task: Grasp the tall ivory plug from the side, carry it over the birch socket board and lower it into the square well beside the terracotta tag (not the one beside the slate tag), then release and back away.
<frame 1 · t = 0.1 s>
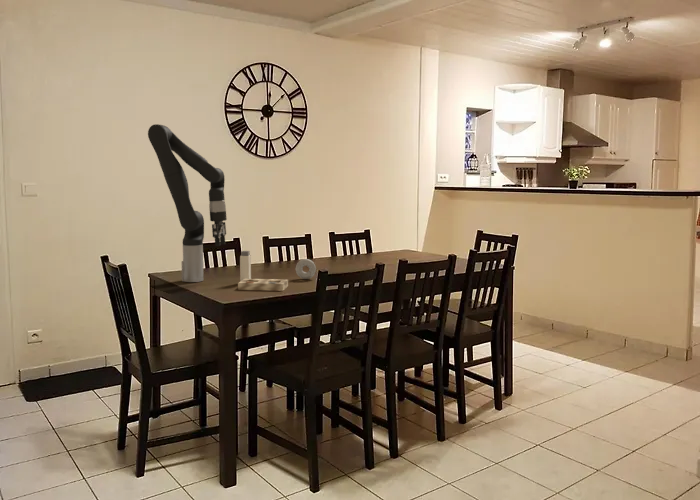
hand: (220, 245, 296), 17 cm above the table, tool pointing down, fingers open, 8 cm apart
donut: (305, 279, 307), on the table
socket board: (263, 287, 282), on the table
plug: (245, 283, 294), on the table
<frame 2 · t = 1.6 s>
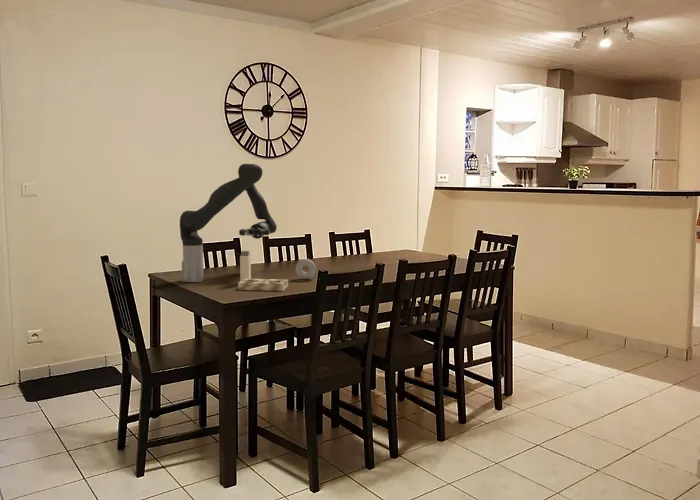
hand: (251, 233, 302), 22 cm above the table, tool horizontal, fingers open, 8 cm apart
nothing on the table moved.
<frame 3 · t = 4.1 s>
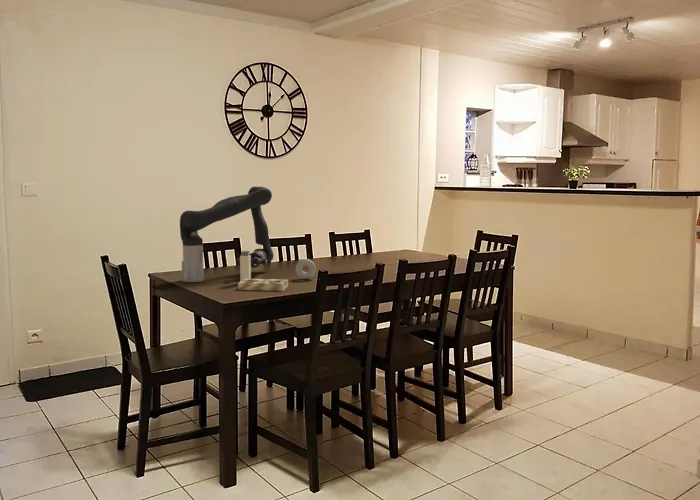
hand: (248, 263, 298), 9 cm above the table, tool horizontal, fingers open, 8 cm apart
nothing on the table moved.
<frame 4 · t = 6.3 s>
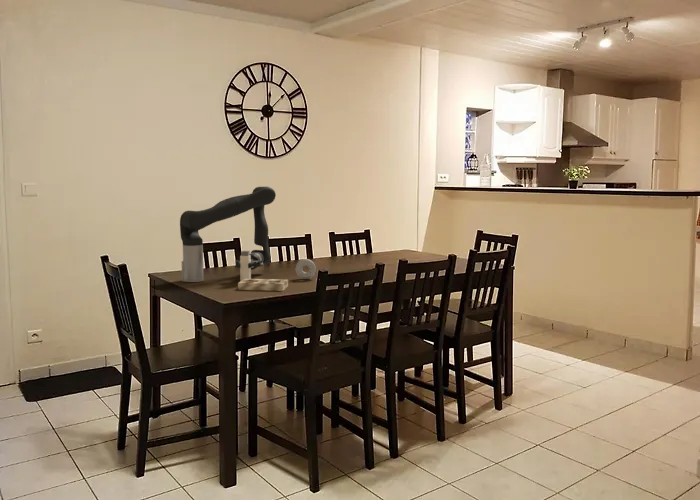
hand: (244, 265, 290), 9 cm above the table, tool horizontal, fingers closed on plug, 4 cm apart
plug: (245, 283, 294), on the table, touching gripper
everything else where it was.
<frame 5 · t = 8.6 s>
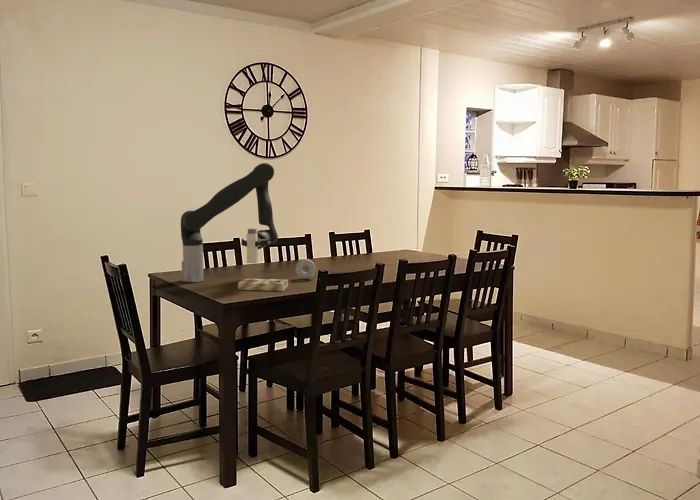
hand: (250, 244, 277), 20 cm above the table, tool horizontal, fingers closed on plug, 4 cm apart
plug: (252, 262, 281), point 11 cm above the table, touching gripper
everything else where it was.
when the fingers open (10 cm above the table, at t = 11.3 s): plug drops 1 cm, resting in socket board.
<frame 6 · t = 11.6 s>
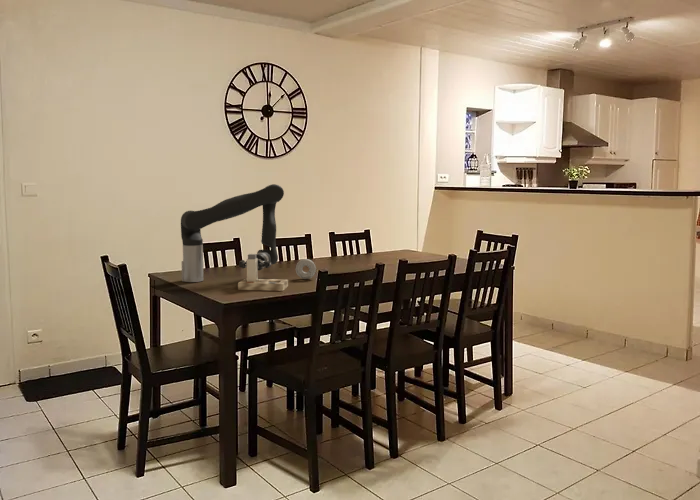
hand: (251, 266, 279), 10 cm above the table, tool horizontal, fingers open, 7 cm apart
plug: (252, 287, 282), resting in socket board
everything else where it was.
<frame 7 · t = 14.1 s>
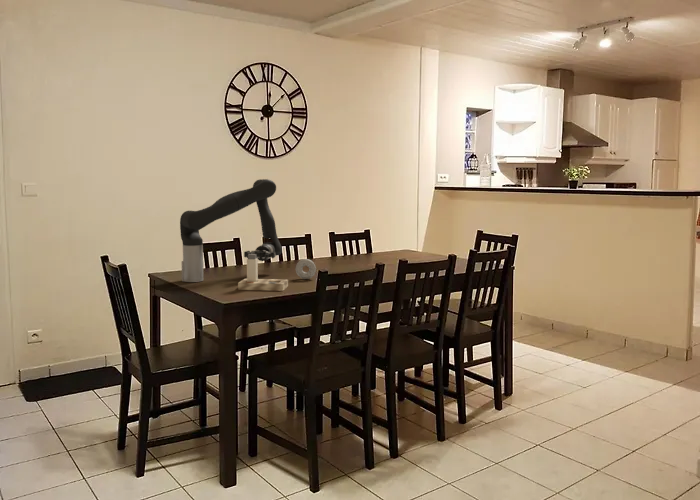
hand: (256, 256, 292), 13 cm above the table, tool horizontal, fingers open, 8 cm apart
nothing on the table moved.
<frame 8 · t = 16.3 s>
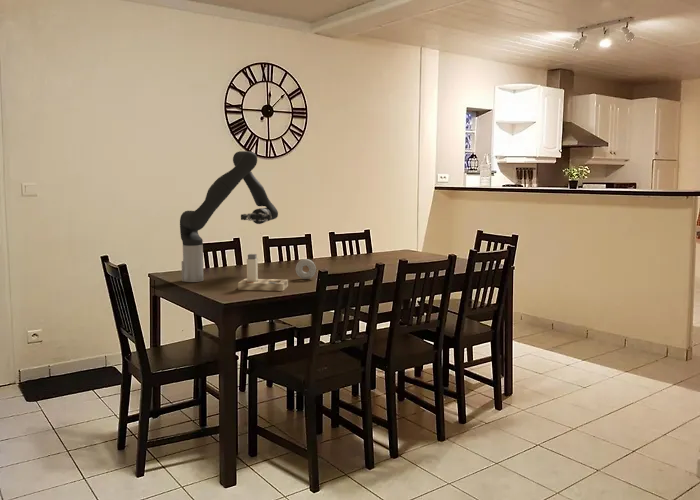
hand: (252, 218, 297), 30 cm above the table, tool horizontal, fingers open, 8 cm apart
nothing on the table moved.
at the end: plug 0.1 cm from the target spot on the socket board, point 0.0 cm above the socket board's base; plug tilted 0°; the gripper is holding nothing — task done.
